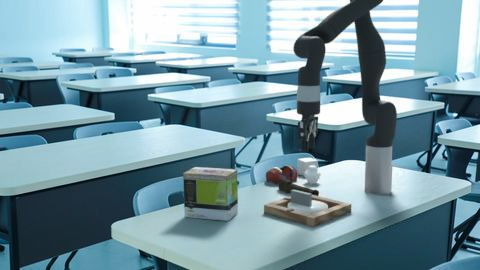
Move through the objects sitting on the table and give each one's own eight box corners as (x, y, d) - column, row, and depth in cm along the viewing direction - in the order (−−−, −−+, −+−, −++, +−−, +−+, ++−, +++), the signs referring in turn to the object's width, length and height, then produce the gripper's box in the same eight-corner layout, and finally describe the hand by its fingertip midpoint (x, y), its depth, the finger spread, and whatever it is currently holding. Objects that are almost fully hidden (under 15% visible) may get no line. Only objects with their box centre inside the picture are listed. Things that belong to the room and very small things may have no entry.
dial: (336, 209, 199) (336, 193, 198) (311, 219, 190) (311, 201, 189) (304, 201, 208) (304, 186, 207) (279, 210, 199) (279, 193, 198)
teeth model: (300, 164, 239) (277, 170, 231) (300, 180, 240) (278, 186, 232) (285, 162, 245) (262, 167, 237) (285, 177, 246) (263, 182, 238)
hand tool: (319, 200, 214) (320, 187, 213) (311, 202, 211) (311, 189, 211) (284, 188, 229) (284, 176, 228) (276, 190, 226) (276, 178, 226)
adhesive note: (304, 176, 246) (304, 162, 245) (297, 173, 251) (297, 159, 250) (317, 174, 248) (317, 160, 247) (310, 171, 254) (310, 157, 252)
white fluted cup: (302, 183, 234) (302, 166, 233) (306, 180, 240) (307, 162, 239) (318, 185, 232) (318, 167, 231) (322, 181, 237) (322, 163, 236)
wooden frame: (302, 200, 213) (302, 191, 212) (351, 212, 199) (351, 203, 199) (263, 213, 199) (263, 203, 198) (313, 227, 185) (313, 217, 184)
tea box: (238, 212, 199) (238, 168, 197) (227, 222, 190) (227, 176, 187) (195, 208, 204) (195, 165, 202) (183, 217, 195) (182, 172, 192)
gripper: (312, 102, 190) (312, 155, 193) (326, 97, 203) (325, 147, 206) (290, 101, 193) (289, 153, 196) (304, 96, 206) (303, 145, 209)
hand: (307, 150), depth 201 cm, fingers open, 6 cm apart
